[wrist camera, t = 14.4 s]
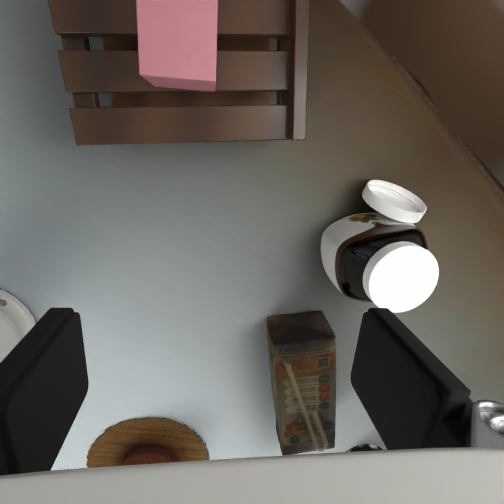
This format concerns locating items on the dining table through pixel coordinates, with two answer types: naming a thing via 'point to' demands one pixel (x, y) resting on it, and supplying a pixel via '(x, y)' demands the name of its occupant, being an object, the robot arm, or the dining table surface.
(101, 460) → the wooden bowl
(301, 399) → the beverage carton
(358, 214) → the spread jar
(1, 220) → the dining table surface
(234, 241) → the dining table surface
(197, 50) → the pink box
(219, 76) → the rack
